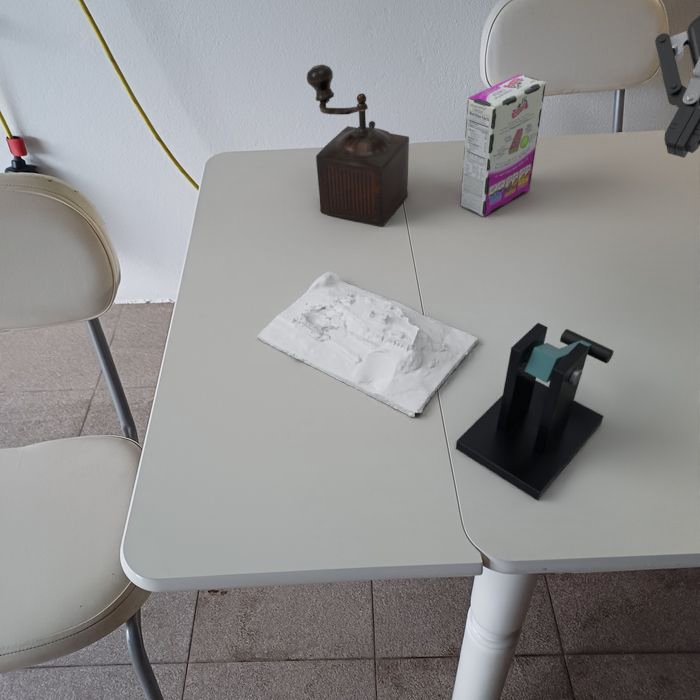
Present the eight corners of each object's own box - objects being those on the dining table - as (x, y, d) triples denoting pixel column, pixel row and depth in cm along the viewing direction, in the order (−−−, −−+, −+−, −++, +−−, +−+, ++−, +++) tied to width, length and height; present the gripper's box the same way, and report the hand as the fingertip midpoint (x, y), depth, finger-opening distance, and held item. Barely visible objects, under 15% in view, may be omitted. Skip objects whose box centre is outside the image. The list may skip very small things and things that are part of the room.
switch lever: (561, 344, 66) (570, 323, 66) (607, 366, 64) (617, 345, 63) (510, 364, 57) (520, 340, 56) (561, 390, 55) (572, 365, 54)
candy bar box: (503, 180, 101) (518, 72, 90) (530, 191, 98) (549, 81, 87) (456, 206, 96) (466, 95, 85) (483, 218, 93) (497, 105, 82)
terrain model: (318, 283, 85) (314, 250, 81) (486, 328, 75) (489, 293, 72) (244, 359, 74) (236, 325, 71) (428, 423, 65) (429, 387, 61)
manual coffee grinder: (411, 192, 99) (415, 72, 87) (383, 228, 92) (383, 102, 80) (322, 174, 104) (314, 58, 92) (288, 207, 97) (274, 86, 85)
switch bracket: (522, 381, 69) (540, 293, 61) (601, 423, 64) (632, 334, 56) (455, 448, 62) (466, 360, 54) (537, 500, 58) (562, 412, 50)
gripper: (697, -73, 56) (598, 113, 57) (875, -54, 49) (755, 156, 51) (701, -17, 62) (611, 149, 64) (858, 6, 55) (752, 191, 57)
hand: (675, 152), depth 57 cm, fingers closed
